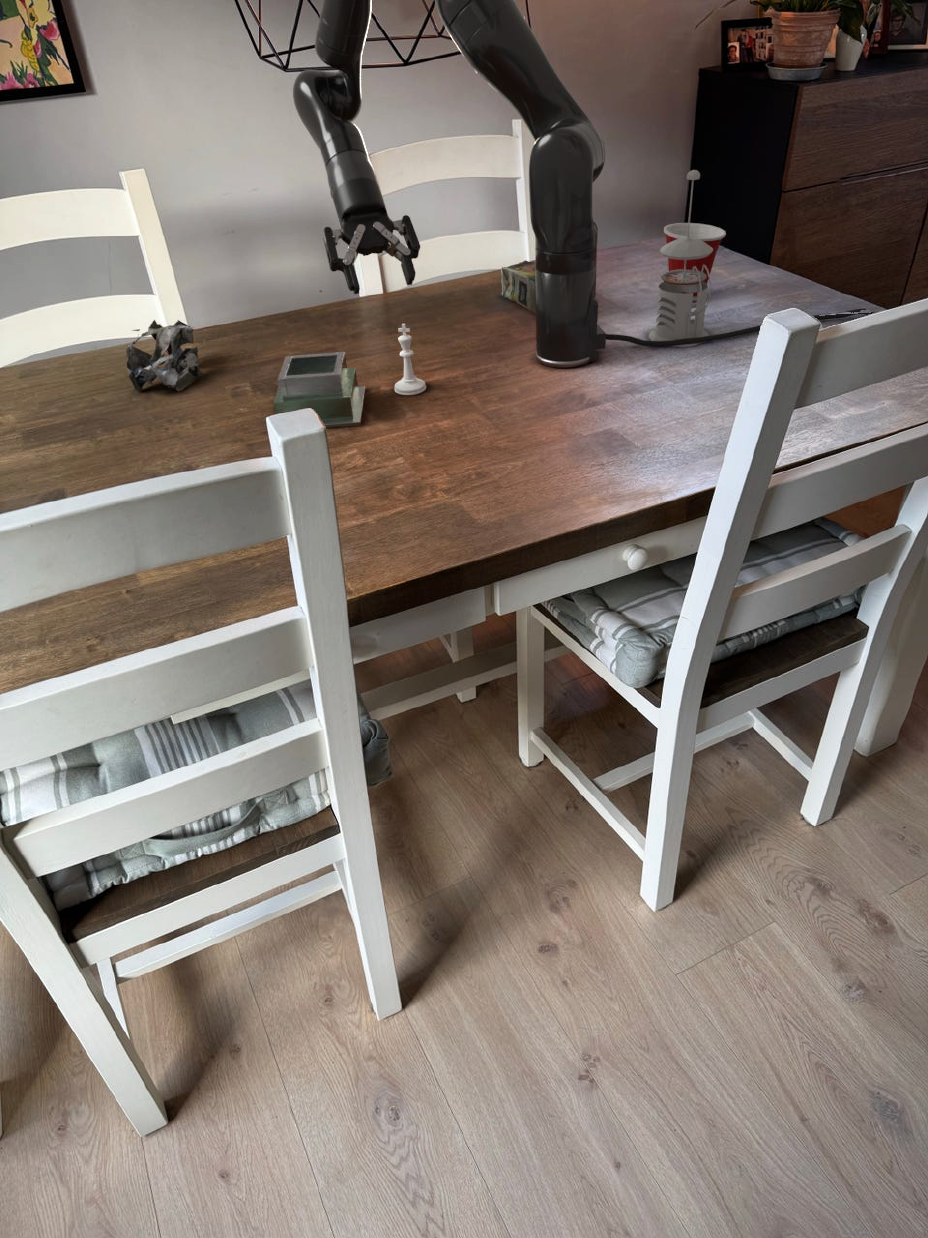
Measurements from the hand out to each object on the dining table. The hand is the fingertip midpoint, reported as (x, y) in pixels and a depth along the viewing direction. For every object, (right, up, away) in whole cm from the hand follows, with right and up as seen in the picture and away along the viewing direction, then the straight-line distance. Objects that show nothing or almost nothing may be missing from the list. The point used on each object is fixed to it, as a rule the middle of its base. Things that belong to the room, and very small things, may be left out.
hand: (384, 286), depth 131 cm
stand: (-9, -20, -3) cm, 22 cm away
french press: (+48, -4, +11) cm, 50 cm away
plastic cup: (+54, +8, +26) cm, 60 cm away
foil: (-36, -11, +11) cm, 40 cm away
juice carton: (+28, +8, +28) cm, 40 cm away
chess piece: (+4, -16, +1) cm, 16 cm away
